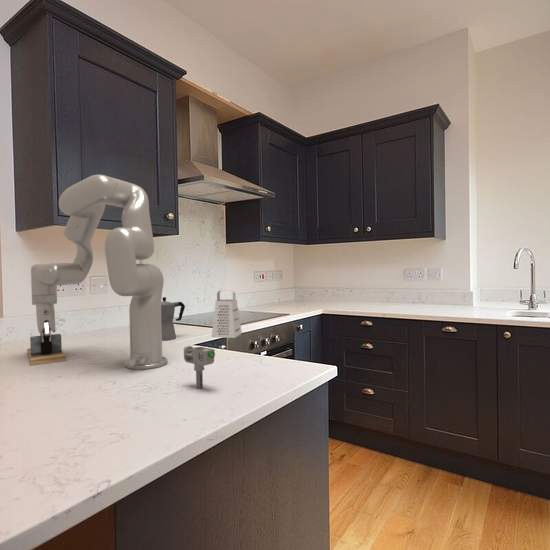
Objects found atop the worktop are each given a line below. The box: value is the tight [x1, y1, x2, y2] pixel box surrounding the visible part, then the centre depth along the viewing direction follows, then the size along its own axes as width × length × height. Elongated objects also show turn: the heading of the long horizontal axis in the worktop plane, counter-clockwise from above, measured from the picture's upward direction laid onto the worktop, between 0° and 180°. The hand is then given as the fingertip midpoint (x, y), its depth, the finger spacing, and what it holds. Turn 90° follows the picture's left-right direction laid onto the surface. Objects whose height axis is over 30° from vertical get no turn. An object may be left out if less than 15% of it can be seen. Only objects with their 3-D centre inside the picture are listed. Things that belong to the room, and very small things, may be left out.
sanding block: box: [29, 333, 63, 356], centre depth 133 cm, size 9×4×6 cm, turn 125°
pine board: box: [26, 347, 67, 366], centre depth 135 cm, size 24×10×2 cm, turn 35°
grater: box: [211, 289, 243, 339], centre depth 171 cm, size 10×10×20 cm
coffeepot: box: [161, 296, 186, 342], centre depth 166 cm, size 15×9×18 cm, turn 118°
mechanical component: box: [183, 345, 216, 389], centre depth 96 cm, size 3×10×10 cm, turn 51°
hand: (46, 351), depth 133 cm, fingers closed on sanding block, 4 cm apart
